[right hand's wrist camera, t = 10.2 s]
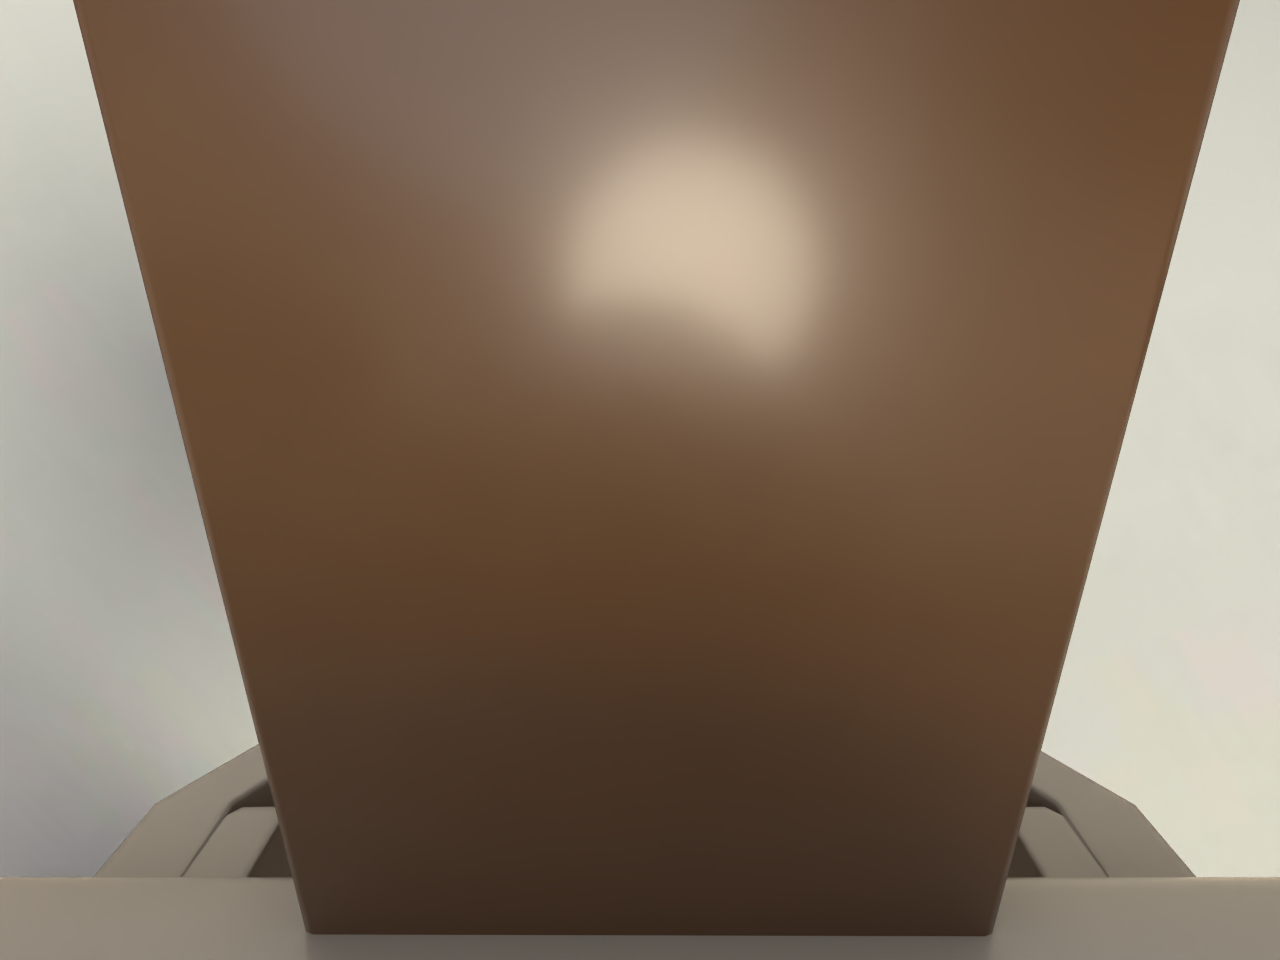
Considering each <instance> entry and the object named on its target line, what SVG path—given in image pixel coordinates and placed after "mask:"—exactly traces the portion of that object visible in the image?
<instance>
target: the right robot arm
mask: <svg viewBox="0 0 1280 960" xmlns="http://www.w3.org/2000/svg"><path fill="white" fill-rule="evenodd" d="M0 960H1280V877H1196V876H1195V875H1194V874H1193V873H1192V872H1191V870H1190V869H1189V868H1188V867H1187V866H1186V864H1185V863H1184V862H1183V861H1182V860H1181V859H1180V857H1179V856H1178V855H1177V854H1176V853H1175V852H1174V850H1173V849H1172V848H1171V847H1170V846H1169V844H1168V843H1167V842H1166V841H1165V840H1164V839H1163V837H1162V836H1161V835H1160V834H1159V833H1158V832H1157V830H1156V829H1155V828H1154V827H1153V826H1152V824H1151V823H1150V822H1149V821H1148V820H1147V819H1146V817H1145V816H1144V815H1143V814H1142V813H1141V812H1140V810H1139V809H1138V808H1137V807H1136V806H1135V805H1134V804H1132V803H1131V802H1129V801H1127V800H1125V799H1124V798H1122V797H1120V796H1118V795H1117V794H1115V793H1113V792H1111V791H1110V790H1108V789H1106V788H1104V787H1103V786H1101V785H1099V784H1097V783H1096V782H1094V781H1092V780H1090V779H1089V778H1087V777H1085V776H1084V775H1082V774H1080V773H1078V772H1077V771H1075V770H1073V769H1071V768H1070V767H1068V766H1066V765H1064V764H1063V763H1061V762H1059V761H1057V760H1056V759H1054V758H1052V757H1050V756H1049V755H1047V754H1045V753H1044V752H1042V751H1040V755H1039V759H1038V763H1037V766H1036V770H1035V774H1034V778H1033V781H1032V785H1031V789H1030V793H1029V797H1028V800H1027V804H1026V808H1025V812H1024V815H1023V819H1022V823H1021V827H1020V831H1019V834H1018V838H1017V842H1016V846H1015V849H1014V853H1013V857H1012V861H1011V864H1010V868H1009V872H1008V876H1007V880H1006V883H1005V887H1004V891H1003V895H1002V898H1001V902H1000V906H999V910H998V913H997V917H996V921H995V925H994V929H993V932H992V934H989V935H987V936H684V935H331V934H311V933H309V932H306V930H305V926H304V922H303V918H302V914H301V910H300V906H299V902H298V898H297V894H296V890H295V886H294V882H293V878H292V874H291V870H290V866H289V862H288V858H287V854H286V850H285V846H284V842H283V838H282V834H281V830H280V826H279V822H278V818H277V814H276V810H275V806H274V802H273V798H272V794H271V790H270V786H269V782H268V778H267V774H266V770H265V766H264V762H263V758H262V754H261V750H260V746H259V744H258V745H256V746H254V747H253V748H251V749H249V750H247V751H246V752H244V753H242V754H241V755H239V756H237V757H235V758H234V759H232V760H230V761H228V762H227V763H225V764H223V765H221V766H220V767H218V768H216V769H215V770H213V771H211V772H209V773H208V774H206V775H204V776H202V777H201V778H199V779H197V780H196V781H194V782H192V783H190V784H189V785H187V786H185V787H183V788H182V789H180V790H178V791H177V792H175V793H173V794H171V795H170V796H168V797H166V798H164V799H163V800H161V801H159V802H157V803H156V804H154V806H153V807H152V808H151V809H150V810H149V812H148V813H147V814H146V815H145V816H144V818H143V819H142V820H141V821H140V822H139V824H138V825H137V826H136V827H135V828H134V829H133V831H132V832H131V833H130V834H129V835H128V837H127V838H126V839H125V840H124V841H123V843H122V844H121V845H120V846H119V847H118V849H117V850H116V851H115V852H114V853H113V854H112V856H111V857H110V858H109V859H108V860H107V862H106V863H105V864H104V865H103V866H102V868H101V869H100V870H99V871H98V872H97V873H96V875H95V876H94V877H0Z"/></svg>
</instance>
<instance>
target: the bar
mask: <svg viewBox="0 0 1280 960" xmlns="http://www.w3.org/2000/svg"><path fill="white" fill-rule="evenodd" d="M1239 1H1240V0H73V2H74V6H75V10H76V14H77V18H78V22H79V26H80V30H81V34H82V38H83V42H84V46H85V50H86V54H87V58H88V62H89V66H90V70H91V74H92V78H93V82H94V86H95V90H96V94H97V98H98V102H99V106H100V110H101V114H102V118H103V122H104V126H105V130H106V134H107V138H108V142H109V146H110V150H111V154H112V158H113V162H114V166H115V170H116V174H117V178H118V182H119V186H120V190H121V194H122V198H123V202H124V206H125V210H126V214H127V218H128V222H129V226H130V230H131V234H132V238H133V242H134V246H135V250H136V254H137V258H138V262H139V266H140V270H141V274H142V278H143V282H144V286H145V290H146V294H147V298H148V302H149V306H150V310H151V314H152V318H153V322H154V326H155V330H156V334H157V338H158V342H159V346H160V350H161V354H162V358H163V362H164V366H165V370H166V374H167V378H168V382H169V386H170V390H171V394H172V398H173V402H174V406H175V410H176V414H177V418H178V422H179V426H180V430H181V434H182V438H183V442H184V446H185V450H186V454H187V458H188V462H189V466H190V470H191V474H192V478H193V482H194V486H195V490H196V494H197V498H198V502H199V506H200V510H201V514H202V518H203V522H204V526H205V530H206V534H207V538H208V542H209V546H210V550H211V554H212V558H213V562H214V566H215V570H216V574H217V578H218V582H219V586H220V590H221V594H222V598H223V602H224V606H225V610H226V614H227V618H228V622H229V626H230V630H231V634H232V638H233V642H234V646H235V650H236V654H237V658H238V662H239V666H240V670H241V674H242V678H243V682H244V686H245V690H246V694H247V698H248V702H249V706H250V710H251V714H252V718H253V722H254V726H255V730H256V734H257V738H258V742H259V746H260V750H261V754H262V758H263V762H264V766H265V770H266V774H267V778H268V782H269V786H270V790H271V794H272V798H273V802H274V806H275V810H276V814H277V818H278V822H279V826H280V830H281V834H282V838H283V842H284V846H285V850H286V854H287V858H288V862H289V866H290V870H291V874H292V878H293V882H294V886H295V890H296V894H297V898H298V902H299V906H300V910H301V914H302V918H303V922H304V926H305V930H306V932H309V933H311V934H331V935H684V936H987V935H989V934H992V932H993V929H994V925H995V921H996V917H997V913H998V910H999V906H1000V902H1001V898H1002V895H1003V891H1004V887H1005V883H1006V880H1007V876H1008V872H1009V868H1010V864H1011V861H1012V857H1013V853H1014V849H1015V846H1016V842H1017V838H1018V834H1019V831H1020V827H1021V823H1022V819H1023V815H1024V812H1025V808H1026V804H1027V800H1028V797H1029V793H1030V789H1031V785H1032V781H1033V778H1034V774H1035V770H1036V766H1037V763H1038V759H1039V755H1040V751H1041V748H1042V744H1043V740H1044V736H1045V732H1046V729H1047V725H1048V721H1049V717H1050V714H1051V710H1052V706H1053V702H1054V699H1055V695H1056V691H1057V687H1058V683H1059V680H1060V676H1061V672H1062V668H1063V665H1064V661H1065V657H1066V653H1067V650H1068V646H1069V642H1070V638H1071V634H1072V631H1073V627H1074V623H1075V619H1076V616H1077V612H1078V608H1079V604H1080V601H1081V597H1082V593H1083V589H1084V585H1085V582H1086V578H1087V574H1088V570H1089V567H1090V563H1091V559H1092V555H1093V552H1094V548H1095V544H1096V540H1097V536H1098V533H1099V529H1100V525H1101V521H1102V518H1103V514H1104V510H1105V506H1106V503H1107V499H1108V495H1109V491H1110V487H1111V484H1112V480H1113V476H1114V472H1115V469H1116V465H1117V461H1118V457H1119V454H1120V450H1121V446H1122V442H1123V438H1124V435H1125V431H1126V427H1127V423H1128V420H1129V416H1130V412H1131V408H1132V405H1133V401H1134V397H1135V393H1136V389H1137V386H1138V382H1139V378H1140V374H1141V371H1142V367H1143V363H1144V359H1145V355H1146V352H1147V348H1148V344H1149V340H1150V337H1151V333H1152V329H1153V325H1154V322H1155V318H1156V314H1157V310H1158V306H1159V303H1160V299H1161V295H1162V291H1163V288H1164V284H1165V280H1166V276H1167V273H1168V269H1169V265H1170V261H1171V257H1172V254H1173V250H1174V246H1175V242H1176V239H1177V235H1178V231H1179V227H1180V224H1181V220H1182V216H1183V212H1184V208H1185V205H1186V201H1187V197H1188V193H1189V190H1190V186H1191V182H1192V178H1193V175H1194V171H1195V167H1196V163H1197V159H1198V156H1199V152H1200V148H1201V144H1202V141H1203V137H1204V133H1205V129H1206V126H1207V122H1208V118H1209V114H1210V110H1211V107H1212V103H1213V99H1214V95H1215V92H1216V88H1217V84H1218V80H1219V77H1220V73H1221V69H1222V65H1223V61H1224V58H1225V54H1226V50H1227V46H1228V43H1229V39H1230V35H1231V31H1232V28H1233V24H1234V20H1235V16H1236V12H1237V9H1238V5H1239Z"/></svg>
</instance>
